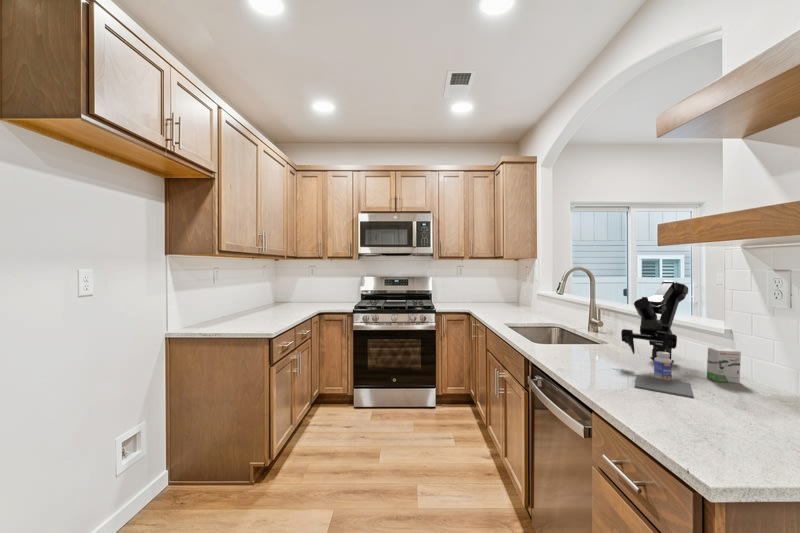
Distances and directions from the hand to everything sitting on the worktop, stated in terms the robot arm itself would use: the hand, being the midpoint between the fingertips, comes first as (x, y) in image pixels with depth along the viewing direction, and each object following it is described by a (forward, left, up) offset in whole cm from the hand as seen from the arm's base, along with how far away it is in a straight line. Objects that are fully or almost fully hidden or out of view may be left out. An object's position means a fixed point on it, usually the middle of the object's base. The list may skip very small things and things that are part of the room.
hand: (647, 355), depth 146 cm
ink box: (-22, +10, -7) cm, 25 cm away
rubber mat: (+7, +17, -7) cm, 19 cm away
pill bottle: (0, +8, -7) cm, 11 cm away
